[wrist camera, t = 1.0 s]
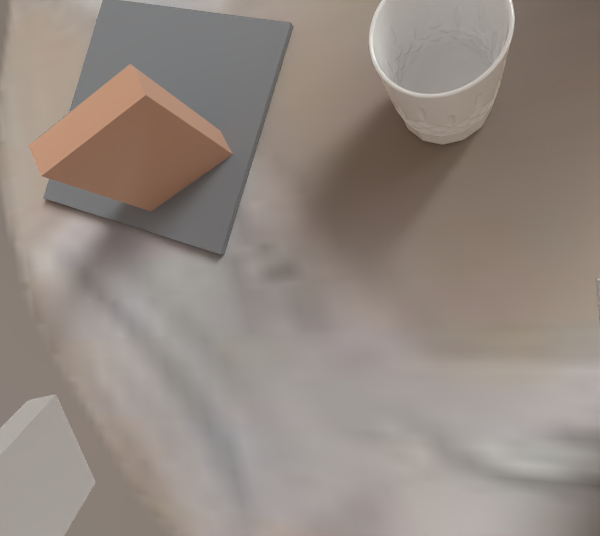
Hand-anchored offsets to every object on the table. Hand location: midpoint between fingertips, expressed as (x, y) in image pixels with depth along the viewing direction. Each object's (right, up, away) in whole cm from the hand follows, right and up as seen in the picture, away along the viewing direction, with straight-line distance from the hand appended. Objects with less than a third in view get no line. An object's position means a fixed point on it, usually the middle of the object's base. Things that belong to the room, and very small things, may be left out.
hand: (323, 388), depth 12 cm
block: (-11, +11, +31) cm, 35 cm away
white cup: (+10, +15, +26) cm, 32 cm away
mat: (-13, +16, +33) cm, 39 cm away
